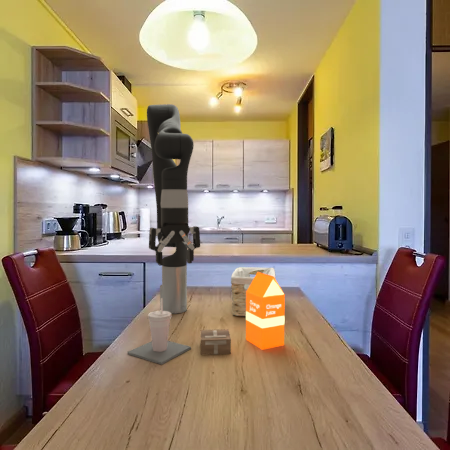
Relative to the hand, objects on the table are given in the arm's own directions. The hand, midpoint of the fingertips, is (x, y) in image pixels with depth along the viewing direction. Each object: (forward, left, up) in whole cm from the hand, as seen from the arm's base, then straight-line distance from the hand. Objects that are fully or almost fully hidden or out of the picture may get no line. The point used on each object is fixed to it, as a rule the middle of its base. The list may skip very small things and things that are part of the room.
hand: (175, 264), depth 102 cm
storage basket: (+2, +45, -24) cm, 51 cm away
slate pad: (-1, -6, -23) cm, 24 cm away
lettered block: (+11, +4, -23) cm, 26 cm away
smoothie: (-1, -6, -23) cm, 23 cm away
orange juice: (+20, +16, -23) cm, 35 cm away
